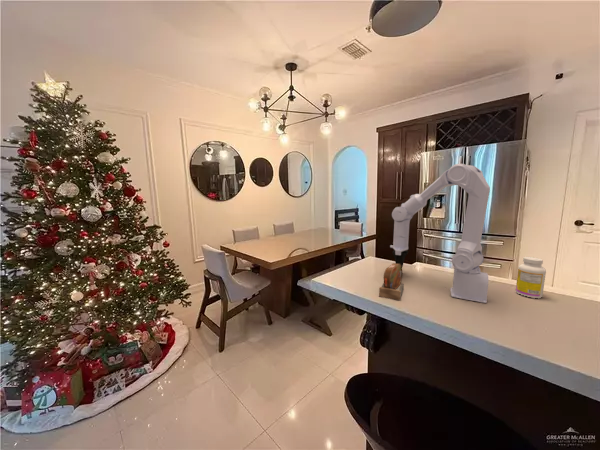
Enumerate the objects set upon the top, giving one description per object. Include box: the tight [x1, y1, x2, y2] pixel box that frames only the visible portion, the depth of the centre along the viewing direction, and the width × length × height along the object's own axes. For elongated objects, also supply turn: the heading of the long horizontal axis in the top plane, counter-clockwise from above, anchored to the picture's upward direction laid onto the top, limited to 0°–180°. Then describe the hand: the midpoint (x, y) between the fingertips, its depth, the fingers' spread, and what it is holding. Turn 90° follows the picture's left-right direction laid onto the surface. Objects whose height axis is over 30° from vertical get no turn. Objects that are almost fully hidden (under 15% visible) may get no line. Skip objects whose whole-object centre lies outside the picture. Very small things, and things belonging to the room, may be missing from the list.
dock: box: [378, 282, 405, 301], centre depth 83 cm, size 7×10×3 cm, turn 150°
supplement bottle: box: [515, 256, 547, 299], centre depth 80 cm, size 7×7×13 cm
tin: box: [383, 262, 403, 290], centre depth 87 cm, size 15×3×8 cm, turn 142°
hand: (399, 267), depth 99 cm, fingers closed
